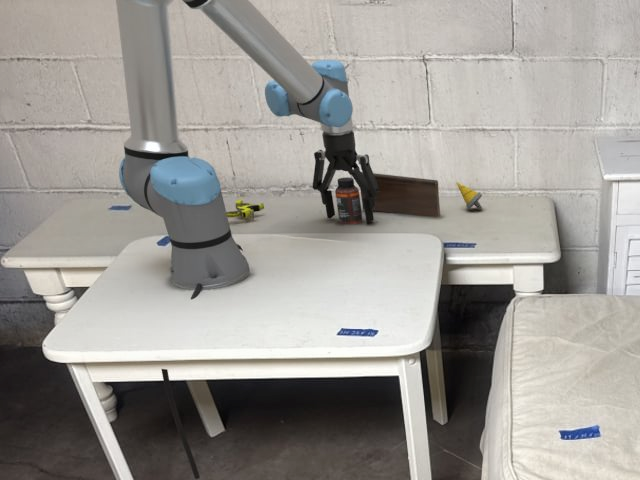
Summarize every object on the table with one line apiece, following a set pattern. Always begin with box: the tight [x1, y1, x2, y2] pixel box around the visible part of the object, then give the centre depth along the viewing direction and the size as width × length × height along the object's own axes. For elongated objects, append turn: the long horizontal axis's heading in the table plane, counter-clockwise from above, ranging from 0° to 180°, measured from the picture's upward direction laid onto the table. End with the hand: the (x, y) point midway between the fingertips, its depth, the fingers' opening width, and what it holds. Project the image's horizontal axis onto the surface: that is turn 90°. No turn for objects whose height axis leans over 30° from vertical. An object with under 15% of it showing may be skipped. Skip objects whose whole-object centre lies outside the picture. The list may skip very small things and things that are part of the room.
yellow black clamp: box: [226, 198, 265, 220], centre depth 190 cm, size 12×4×7 cm
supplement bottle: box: [334, 176, 363, 226], centre depth 186 cm, size 6×6×11 cm
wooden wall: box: [359, 171, 441, 218], centre depth 193 cm, size 2×22×10 cm, turn 74°
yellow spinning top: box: [456, 182, 483, 210], centre depth 197 cm, size 5×5×10 cm
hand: (350, 219), depth 188 cm, fingers open, 10 cm apart
